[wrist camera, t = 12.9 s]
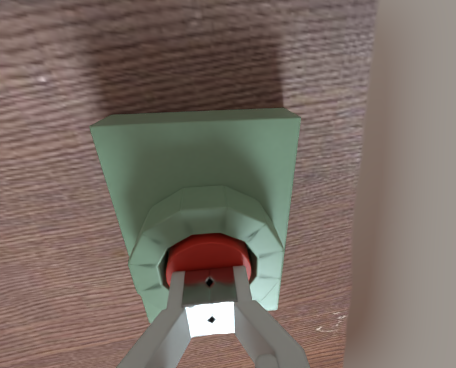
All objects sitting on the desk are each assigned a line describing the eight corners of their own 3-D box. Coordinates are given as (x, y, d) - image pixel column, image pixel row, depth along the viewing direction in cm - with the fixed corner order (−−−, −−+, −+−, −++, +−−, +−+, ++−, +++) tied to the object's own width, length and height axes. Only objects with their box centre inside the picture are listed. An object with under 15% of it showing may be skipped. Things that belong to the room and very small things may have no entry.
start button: (165, 219, 10) (158, 247, 9) (245, 213, 10) (252, 239, 9) (176, 275, 12) (171, 307, 10) (244, 269, 12) (250, 299, 11)
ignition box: (110, 114, 10) (60, 140, 7) (284, 107, 11) (323, 127, 7) (155, 291, 16) (141, 357, 12) (269, 281, 16) (286, 340, 13)
